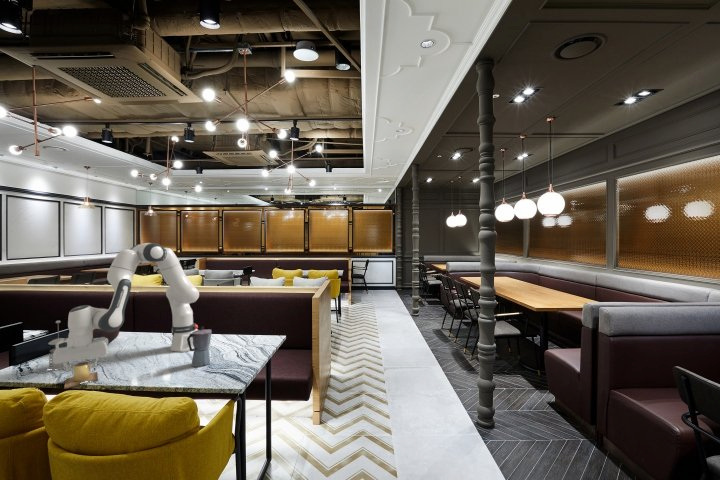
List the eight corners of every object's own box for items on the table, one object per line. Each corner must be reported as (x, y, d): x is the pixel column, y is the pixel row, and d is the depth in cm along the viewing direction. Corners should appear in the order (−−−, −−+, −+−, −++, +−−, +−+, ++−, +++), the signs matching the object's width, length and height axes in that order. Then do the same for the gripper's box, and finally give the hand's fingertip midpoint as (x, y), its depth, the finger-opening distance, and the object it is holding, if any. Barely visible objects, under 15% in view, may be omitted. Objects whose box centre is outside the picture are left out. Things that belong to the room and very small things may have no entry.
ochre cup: (91, 375, 161) (91, 360, 161) (88, 379, 156) (88, 364, 155) (75, 377, 158) (75, 363, 158) (71, 382, 152) (71, 367, 152)
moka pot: (218, 360, 180) (217, 324, 180) (196, 371, 166) (195, 332, 165) (204, 358, 183) (204, 322, 183) (181, 368, 169) (181, 330, 169)
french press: (43, 372, 166) (41, 323, 166) (51, 364, 176) (50, 318, 176) (68, 368, 171) (67, 321, 170) (75, 361, 181) (74, 316, 181)
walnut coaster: (97, 372, 165) (97, 371, 165) (98, 380, 156) (98, 379, 156) (65, 379, 157) (65, 378, 157) (64, 388, 148) (64, 387, 148)
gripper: (109, 334, 164) (110, 361, 165) (55, 342, 154) (56, 370, 154) (107, 337, 159) (108, 365, 159) (50, 345, 148) (52, 375, 149)
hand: (82, 368), depth 157 cm, fingers open, 8 cm apart
